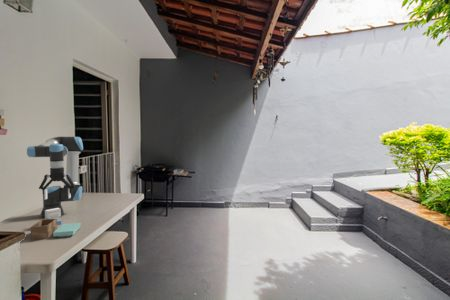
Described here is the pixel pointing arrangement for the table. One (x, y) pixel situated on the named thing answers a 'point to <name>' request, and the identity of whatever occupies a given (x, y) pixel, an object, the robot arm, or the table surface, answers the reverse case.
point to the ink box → (53, 214)
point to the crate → (43, 229)
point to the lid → (67, 229)
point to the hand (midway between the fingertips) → (57, 198)
